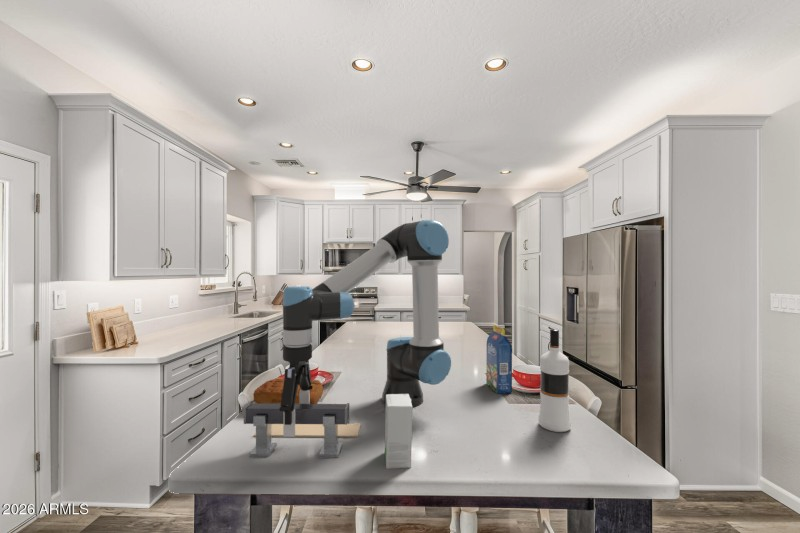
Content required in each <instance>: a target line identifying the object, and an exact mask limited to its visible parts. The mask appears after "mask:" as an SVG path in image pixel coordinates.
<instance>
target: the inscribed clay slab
mask: <svg viewBox="0 0 800 533" xmlns="http://www.w3.org/2000/svg"><path fill="white" fill-rule="evenodd" d="M284 378H285V377H280V378H279V377H277V378H276V377H275V378H273V379H270V380H267V381H265V382H263V383H262V384H261V385H260V386H258V387H257V388H256V389H255V390H254V391H253V394H252V395H253V401H254V403H255V404H281V399H282V392H283V385H284ZM311 381H312V384H311V385H310V386H313V388H312V390H310V404H319V403H318V402H319V401H320V400H321V398H322V396H323V394H324V387H323V384H322V382H321V381H320V380H319V379H318V380H317V379H311ZM300 390H301V389H300V386H299V385H298V390H297V395H296V400H295V404H299V391H300Z"/></svg>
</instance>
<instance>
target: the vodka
mask: <svg viewBox="0 0 800 533" xmlns="http://www.w3.org/2000/svg"><path fill="white" fill-rule="evenodd" d="M539 364H540V365H539V366H540V368H539V369H540V392H539V395H540V405H539V406H540V409H539V414H538V419H537V420H538V424H539V425H540V426H541V427H542V428H543V429H545V430H547V431H549V432H550V431H551V432H553V433H565V432H567V431H569V430H570V429H571V427H572V421H571V418H570V417H571V416H570V406H569V404H570V395H569V394H570V393H569V391H570V390H569V389H570V385H569V383H570V378H569V377H570V374H569V373H570V360H569V358H568V357H567V355H565V354H564V353H562V352H561V351H560V330H558V329H555V328H554V329H553V328H552V329H550V330H549V350H547V351H546V352H545V353H543V354H542V355H541V356H540V359H539Z"/></svg>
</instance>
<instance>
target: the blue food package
mask: <svg viewBox="0 0 800 533" xmlns="http://www.w3.org/2000/svg"><path fill="white" fill-rule="evenodd" d="M492 327H493V328H492V329H493V330H492V332H491V333H490V334H489V335H488V337H487V339H486V377H485V378H486V384H487V386H488V387H490V388H491V390H493V391H494V392H495V393H496V394H510V393H511V394H512V393H513V348H512V343H511V342H510V341H509V339H508V338H507V337H506V336H505V335H506V334H505V333H506V331H505V329H504V328H503V327H501V326H498V325H496V324H493V326H492Z"/></svg>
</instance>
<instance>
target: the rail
mask: <svg viewBox="0 0 800 533" xmlns="http://www.w3.org/2000/svg"><path fill="white" fill-rule="evenodd" d="M280 406H281V404H257V403H252V402H249V403H248V404H246V405H245V406H244V407H243V425H253V420H254V415H266V424H283V411H280V410H279V409H280ZM287 406H288V405H287ZM294 409H295V424H323V416H335V424H345V425H347V424H349V421H350V402H346V403H317V404H295V405H294Z"/></svg>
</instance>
